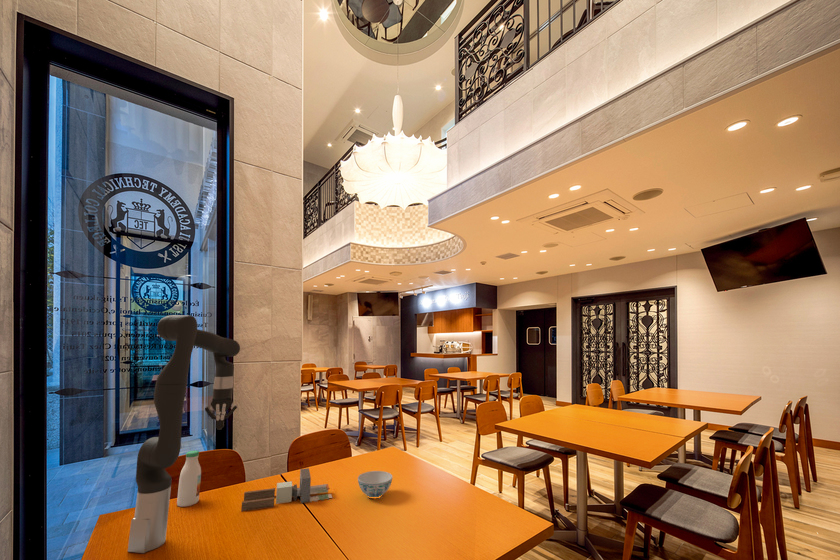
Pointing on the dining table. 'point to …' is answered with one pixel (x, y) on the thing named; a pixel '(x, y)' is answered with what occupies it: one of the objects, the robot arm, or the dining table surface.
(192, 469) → the milk bottle
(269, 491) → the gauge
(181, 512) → the dining table surface
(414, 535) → the dining table surface
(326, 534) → the dining table surface
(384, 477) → the chinaware
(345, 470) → the dining table surface
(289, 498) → the block
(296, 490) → the plunger
